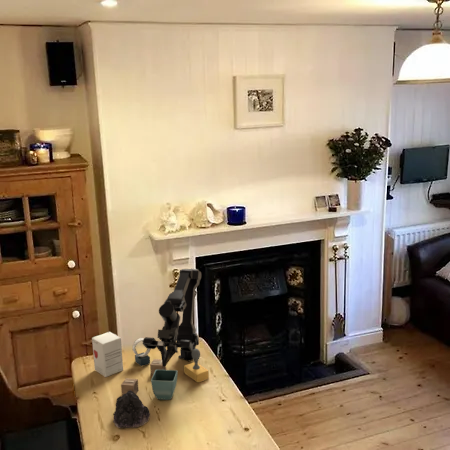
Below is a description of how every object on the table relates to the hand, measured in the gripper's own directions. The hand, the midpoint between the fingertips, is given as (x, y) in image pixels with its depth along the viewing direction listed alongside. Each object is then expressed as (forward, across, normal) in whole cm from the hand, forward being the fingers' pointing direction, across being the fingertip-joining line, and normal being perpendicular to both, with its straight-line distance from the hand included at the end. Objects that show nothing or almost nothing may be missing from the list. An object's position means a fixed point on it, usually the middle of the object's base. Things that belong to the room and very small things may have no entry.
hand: (163, 366), depth 216 cm
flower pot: (+9, 0, +9) cm, 13 cm away
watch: (-9, -18, +27) cm, 33 cm away
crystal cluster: (+21, -8, -3) cm, 23 cm away
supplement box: (-2, -30, +20) cm, 36 cm away
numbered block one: (+9, -14, +9) cm, 19 cm away
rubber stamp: (-3, +8, +22) cm, 23 cm away
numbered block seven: (-3, -8, +21) cm, 23 cm away
